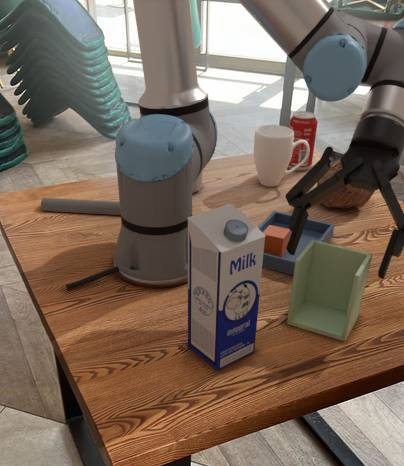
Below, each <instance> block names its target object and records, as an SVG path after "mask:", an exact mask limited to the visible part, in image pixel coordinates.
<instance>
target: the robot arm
mask: <svg viewBox="0 0 404 466" xmlns="http://www.w3.org/2000/svg"><path fill="white" fill-rule="evenodd" d="M237 1H238V3H240V5H241V6H242V7H243V8H244V9H245V10H246V11H247V12H248V13H249V15H250V16H251V17H252V18H253V19H254V20H255V22H257V24H258V25H259V26H260V27H261V28H262V29H263V30H264V32H266V34H268V36H269V37H270V38H271V39H272V40H273V41H274V42H275V43H276V45H278V47H279V48H280V49H281V50H282V51H283V52H284V54H285V55H286V56H287V57H288V58H289V59H290V60H291V62H292V63H293V64H294V65H295V66H296V67H297V69H298V70H299V71H300V72H301V73H302V76H303V80H304V82H305V85H306V88H307V89H308V91H309V92H310V93H311V94H312V95H313V97H315V98H317V99H318V100H321V101H324V102H331V103H332V102H333V103H334V102H339V101H342V100H344V99H346V98H348V97H349V96H351V95H352V94H354V92H355V91H356V90H357V88H358V87H359V86H360V84H361V83H362V84H366V85H369V86H370V88H369V90H368V94H367V97H366V99H365V102H364V104H363V106H362V110H361V113H360V115H359V121H358V122H357V124H356V126H355V130H354V132H353V134H352V137H351V140H350V143H349V146H348V148H347V150H346V151H345V152H344V153H341V152H338V151H336V150H334V148H333V147H332V146H327V147H326V148H325V149H324V151H323V153H322V155H321V157H320V158H319V160H318V161H316V163H315V164H314V165H313V166H312V167H311V168H310V169H309V170H308V171H307V172H306V173H305V174H304V175H303V176H302V177H301V178H300V179H299V180H298V181H297V183H295V184H294V185H293V186H292V187H291V188H290V189H289V191H288V192H286V194H285V200H286V202H287V204H288V206H290V207H292V208H293V209H292V212H291V214H290V215H291V218H290V221H289V229H290V231H292V234H291V236H290V239H289V242H288V245H287V247H286V249H287V251H288V253H289V254H290V255H294V254H295V252H296V249H297V246H298V243H299V241H300V238H301V235H302V232H303V230H304V227H305V224H306V221H307V219H309V213H308V210H309V209H311V208H313V207H314V206H316V205H317V204H319V203H320V202H321V201H322V200H323V199H325V198H326V197H328V196H329V195H331V194H332V193H334V192H336V191H337V190H339V189H343V188H344V187H346V186H347V185H351V186H352V188H356V189H365V190H367V191H370V192H373V191H375V192H376V191H379V193H380V195H381V197H382V198H383V200H384V202H385V204H386V206H387V209H388V211H389V213H390V215H391V218H392V220H393V222H394V224H395V226H396V228H393V229H392V232H391V235H390V237H389V240H388V243H387V246H386V249H385V251H384V254H383V257H382V260H381V263H380V265H379V268H378V271H377V274H378V278H379V279H382V280H385V277H386V276H387V275H386V274H387V271H388V269H389V267H390V264H391V260H392V257H396V258H400V256H401V255H402V253H403V251H404V211H403V209H402V206H401V204H400V202H399V199H398V197H397V196H396V193H395V192H394V189H393V187H392V183H391V181H392V180H393V179H395V178H396V177H397V176H398V175H399V176H401V179H402V181H403V182H404V165H403V164H400V162H401V161H400V160H401V157H402V155H403V152H404V18H402V19H399V20H398V21H396V23H395V24H394V25H393V26H392V28H389V27H385V26H380V25H378V24H375V23H372V22H369V21H368V20H364V19H362V18H359V17H356V16H354V15H351V14H349V13H346V12H343V11H341V10H340V9H339V8H333V6H332V5H331V3H329V1H328V0H237ZM132 3H133V11H134V17H135V23H136V30H137V31H136V32H137V37H138V44H139V52H140V57H141V65H142V72H143V79H144V86H145V90H144V92H143V93H142V94H141V96H140V97H139V99H138V107H139V108H138V109H139V114H140V116H139V118H132V119H130V120H128V121H126V122H125V123H124V124H122V125H121V126H120V127H119V129H118V131H117V132H116V136H115V148H114V159H115V165H116V176H117V187H118V199H119V202H120V212H121V215H120V223H121V225H120V230H119V233H118V236H117V241H116V244H115V248H114V251H113V267H110V268H108V269H105V270H102V271H99V272H97V273H94V274H92V275H89V276H87V277H84V278H81V279H79V280H75V281H73V282H69V283H66V284H65V288H66V290H68V291H69V290H72V289H76V288H79V287H83V286H85V285H87V284H90V283H92V282H95V281H97V280H100V279H103V278H106V277H108V276H111V275H114V274H116V275H117V276H118V277H119V278H120V279H121V280H123V281H125V282H127V283H129V284H131V285H134V286H137V287H143V288H151V289H163V288H165V289H166V288H172V287H177V286H181V285H183V284H186V283H188V219H187V218H188V217H190V216H193V193H192V188H193V183H194V182H195V180H196V179H197V177H198V176H199V175H200V173H201V172H202V170H203V171H204V169H205V168H206V166H207V165H208V163H210V161H211V160H212V158H213V156H214V154H215V151H216V147H217V142H218V126H217V122H216V119H215V118H214V116H213V113H212V112H211V110H210V103H209V93H208V91H207V90H206V89H205V88H203V86H201V85H200V84H199V82H198V71H197V62H196V60H197V59H196V50H195V40H194V28H193V18H192V7H191V0H132ZM337 163H342V167H343V168H342V169H340V170H339V171H337V172H336V173H335V174H334V176H332V177H331V178H329V179H328V180H326V181H325V182H323V183H322V184H320V185H319V186H317V182H318V181H319V180H320V179H321V178H322V177H323V176H324V175H325V174H326V173H327V172H328V170H329V169H330V167H334V166H335V165H336V164H337ZM202 173H203V172H202ZM315 185H316V186H315ZM314 186H315V187H314ZM313 187H314V188H313Z"/></svg>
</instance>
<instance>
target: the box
mask: <svg viewBox="0 0 404 466" xmlns="http://www.w3.org/2000/svg"><path fill="white" fill-rule="evenodd" d="M372 258H373V253H370V252H367V251H362V250H357V249H354V248H350V247H345V246H341V245H338V244H333V243H330V242H328V243H325V242H321V241H317V240H313V239H312V240H311V242H310V243H309V244H308V245H307V246H306V248H305V249H304V250H303V251H302V253H301V254H300V255H299V256H298V258H297V259H296V261H295V268H294V275H292V276H293V277H292V283H291V291H290V299H289V306H288V311H287V320H286V325H289V326H292V327H295V328H299V329H302V330H305V331H309V332H312V333H315V334H318V335H321V336H325V337H328V338H332V339H335V340H338V341H341V342H346V340H347V339H348V337H349V335H350V333H351V331H352V329H353V328H354V327H355V326H354V325H355V324H356V322H357V320H358V318H359V315H360V310H361V306H362V302H363V298H364V293H365V289H366V284H367V281H368V277H369V272H370V267H371V263H372Z"/></svg>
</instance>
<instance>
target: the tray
mask: <svg viewBox="0 0 404 466" xmlns="http://www.w3.org/2000/svg"><path fill="white" fill-rule="evenodd" d="M291 215H292V214H290V213H286V212H281V211H277V210H273V211H272V212H271V213H270V214H269V215H268V216H267V217H266V218H265V219H264V220H263V222H261V223H260V224H259V225H258V226H256V227H257V228H258V229H259V230H260V231H261V232H262V233H263V232H264V231H265V230H266V228H267V227H268V226H269V225H272V226H277V227H282V228H286V229H289V221H290V218H291ZM334 230H335V224H334V223H329V222H325V221H322V220H321V221H320V220H316V219H312V218H308V219H307V221H306V224H305V227H304V230H303V232H302V235H301V238H300V241H299V243H298V246H297V249H296V252H295V254H294V255H290V254H289V253H288V251H287V252H286V253H285V254H284V256H283V257H278V256H274V255H271V254H267V253H263V263H262V268H264V269H268V270H272V271H276V272H279V273H282V274H283V273H284V274H287V275H291V276H294V268H295V261H296V259H297V258H298V256H299V255H300V254H301V253H302V251H303V250H304V249H305V248H306V246H307V245H308V244H309V243H310V242H311V240H312V239H313V240H317V241H321V242H325V243H330V241H331V240H332V238H333V235H334ZM291 234H292V231H290V236H291ZM289 239H290V238H289Z"/></svg>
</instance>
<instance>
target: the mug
mask: <svg viewBox="0 0 404 466" xmlns="http://www.w3.org/2000/svg"><path fill="white" fill-rule="evenodd" d="M293 141H294V132H293V130H292V129H290V128H289V126H288V127H287V126H285V125H279V124H277V125H276V124H267V125H262V126H259V127H257V128H256V129H255V130H254V140H253V162H254V165H255V169H256V172H257V176H258V180H259V184H261V186H264V187H268V188H269V187H270V188H273V187H277V186H279V185H280V183H281V181H282V179H283V178H284V176H288V175H289V174H291V173H293V172H294V171H297V170H296V169H297V168H298V167H300V166H301V165H302V164H303V163H304V162H305V161H306V160H307V158H308V156H309V152H310V148H309V144H308V142H307V141H306V140H299V141H297V142H295V143H294V142H293ZM300 143H304V144H305V145H306V147H307V153H306V156H305V158H304V159H303V160H302V161H301V162H300V163H299V164H298V165H296V166H295V167H294V168H292V169H289V170H287V169H288V168H289V167H288V165H289V162H290V160H291V157H292V153H293V149H294V148H295V147H296V146H297V145H298V144H300Z"/></svg>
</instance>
